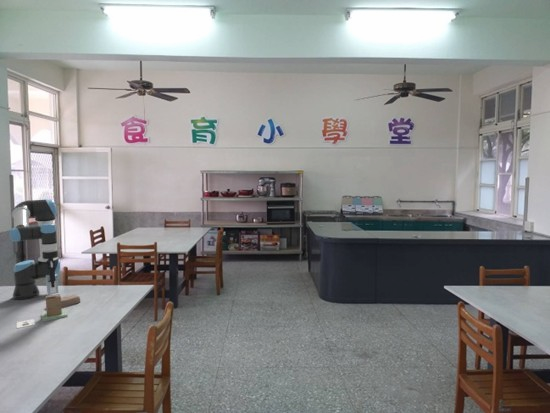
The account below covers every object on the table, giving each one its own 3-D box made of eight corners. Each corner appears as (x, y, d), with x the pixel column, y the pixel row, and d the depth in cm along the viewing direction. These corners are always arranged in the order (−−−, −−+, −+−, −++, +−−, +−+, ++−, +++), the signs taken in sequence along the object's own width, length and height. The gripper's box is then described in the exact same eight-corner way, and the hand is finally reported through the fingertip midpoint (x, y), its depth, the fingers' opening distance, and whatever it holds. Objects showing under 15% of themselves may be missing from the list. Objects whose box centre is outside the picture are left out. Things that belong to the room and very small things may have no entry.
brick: (74, 300, 250) (74, 293, 249) (81, 302, 244) (80, 295, 244) (47, 307, 237) (46, 300, 236) (53, 310, 231) (52, 302, 231)
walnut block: (46, 313, 222) (45, 296, 221) (60, 310, 226) (59, 294, 225) (47, 316, 216) (46, 299, 216) (61, 314, 220) (60, 297, 219)
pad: (41, 315, 223) (41, 313, 223) (65, 310, 230) (64, 308, 230) (42, 321, 213) (42, 319, 213) (67, 316, 220) (67, 314, 220)
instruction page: (16, 322, 212) (16, 322, 212) (33, 319, 217) (33, 318, 217) (16, 328, 204) (16, 328, 204) (34, 324, 208) (34, 324, 208)
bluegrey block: (47, 292, 221) (45, 275, 220) (57, 290, 224) (56, 273, 223) (47, 294, 217) (46, 277, 216) (58, 292, 219) (57, 275, 219)
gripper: (41, 249, 224) (43, 288, 225) (43, 254, 209) (46, 296, 210) (56, 247, 228) (58, 286, 230) (59, 252, 213) (62, 294, 215)
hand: (52, 291), depth 220 cm, fingers closed on bluegrey block, 5 cm apart
